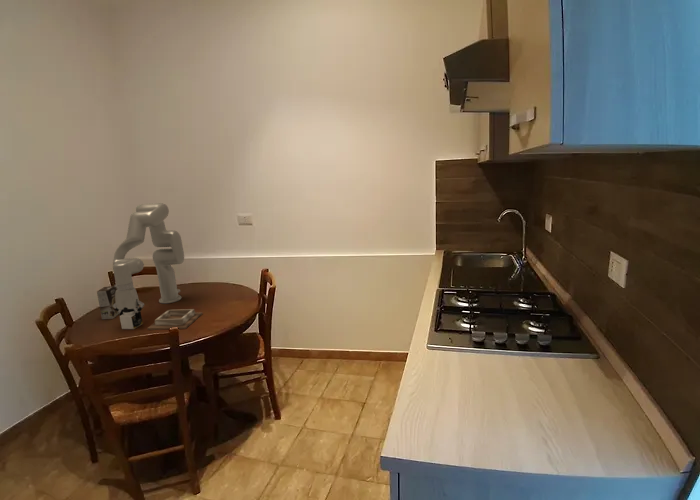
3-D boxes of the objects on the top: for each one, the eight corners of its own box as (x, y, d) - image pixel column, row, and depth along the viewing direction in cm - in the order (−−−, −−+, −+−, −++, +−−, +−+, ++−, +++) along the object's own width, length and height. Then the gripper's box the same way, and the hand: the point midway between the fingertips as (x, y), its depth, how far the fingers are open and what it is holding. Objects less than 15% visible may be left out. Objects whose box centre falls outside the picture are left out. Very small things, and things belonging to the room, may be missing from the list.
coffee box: (113, 318, 237) (108, 290, 233) (101, 319, 236) (95, 291, 233) (121, 312, 246) (115, 285, 242) (109, 313, 245) (104, 286, 242)
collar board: (167, 315, 237) (166, 308, 236) (202, 313, 235) (201, 307, 234) (147, 329, 218) (146, 322, 217) (185, 328, 216) (184, 321, 215)
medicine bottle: (133, 329, 219) (129, 307, 217) (121, 329, 221) (117, 306, 218) (143, 323, 226) (139, 302, 223) (131, 323, 228) (127, 301, 225)
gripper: (104, 289, 216) (110, 322, 220) (137, 288, 214) (143, 321, 218) (113, 284, 223) (119, 317, 227) (145, 283, 221) (151, 316, 225)
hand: (131, 319), depth 223 cm, fingers closed on medicine bottle, 7 cm apart
